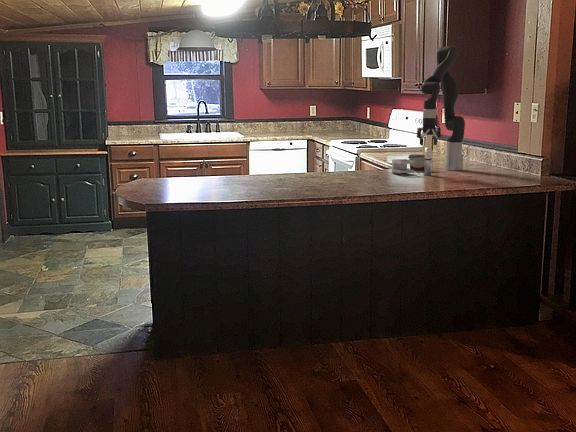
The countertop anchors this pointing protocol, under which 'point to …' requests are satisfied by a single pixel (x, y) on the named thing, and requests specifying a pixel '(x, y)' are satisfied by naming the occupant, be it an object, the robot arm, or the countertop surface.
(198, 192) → the countertop surface
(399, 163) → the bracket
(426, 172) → the tube
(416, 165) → the food container
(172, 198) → the countertop surface
